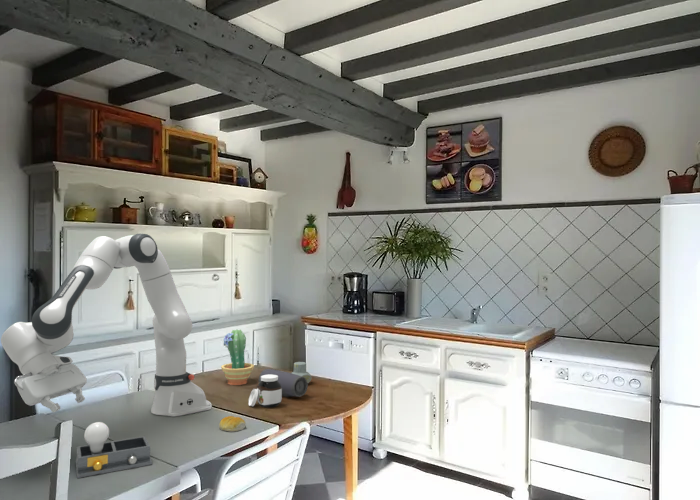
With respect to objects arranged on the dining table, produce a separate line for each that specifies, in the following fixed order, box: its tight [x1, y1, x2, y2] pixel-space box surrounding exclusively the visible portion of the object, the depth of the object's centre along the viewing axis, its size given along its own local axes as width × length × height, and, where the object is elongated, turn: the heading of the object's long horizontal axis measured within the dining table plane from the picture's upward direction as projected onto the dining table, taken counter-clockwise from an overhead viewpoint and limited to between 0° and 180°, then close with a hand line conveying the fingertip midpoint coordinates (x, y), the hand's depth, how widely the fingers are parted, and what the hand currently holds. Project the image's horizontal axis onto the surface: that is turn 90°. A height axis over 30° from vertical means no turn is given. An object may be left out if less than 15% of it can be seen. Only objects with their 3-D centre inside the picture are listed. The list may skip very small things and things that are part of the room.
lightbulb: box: [83, 421, 110, 455], centre depth 145 cm, size 6×6×11 cm
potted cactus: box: [221, 329, 255, 386], centre depth 241 cm, size 15×15×25 cm
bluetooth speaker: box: [258, 368, 309, 398], centre depth 221 cm, size 23×9×10 cm, turn 50°
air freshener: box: [291, 361, 312, 384], centre depth 239 cm, size 11×8×10 cm
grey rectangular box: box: [75, 435, 153, 479], centre depth 146 cm, size 19×12×4 cm, turn 120°
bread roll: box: [218, 415, 247, 433], centre depth 177 cm, size 8×9×4 cm
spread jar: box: [248, 374, 283, 409], centre depth 204 cm, size 12×11×12 cm
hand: (70, 405), depth 147 cm, fingers open, 8 cm apart
